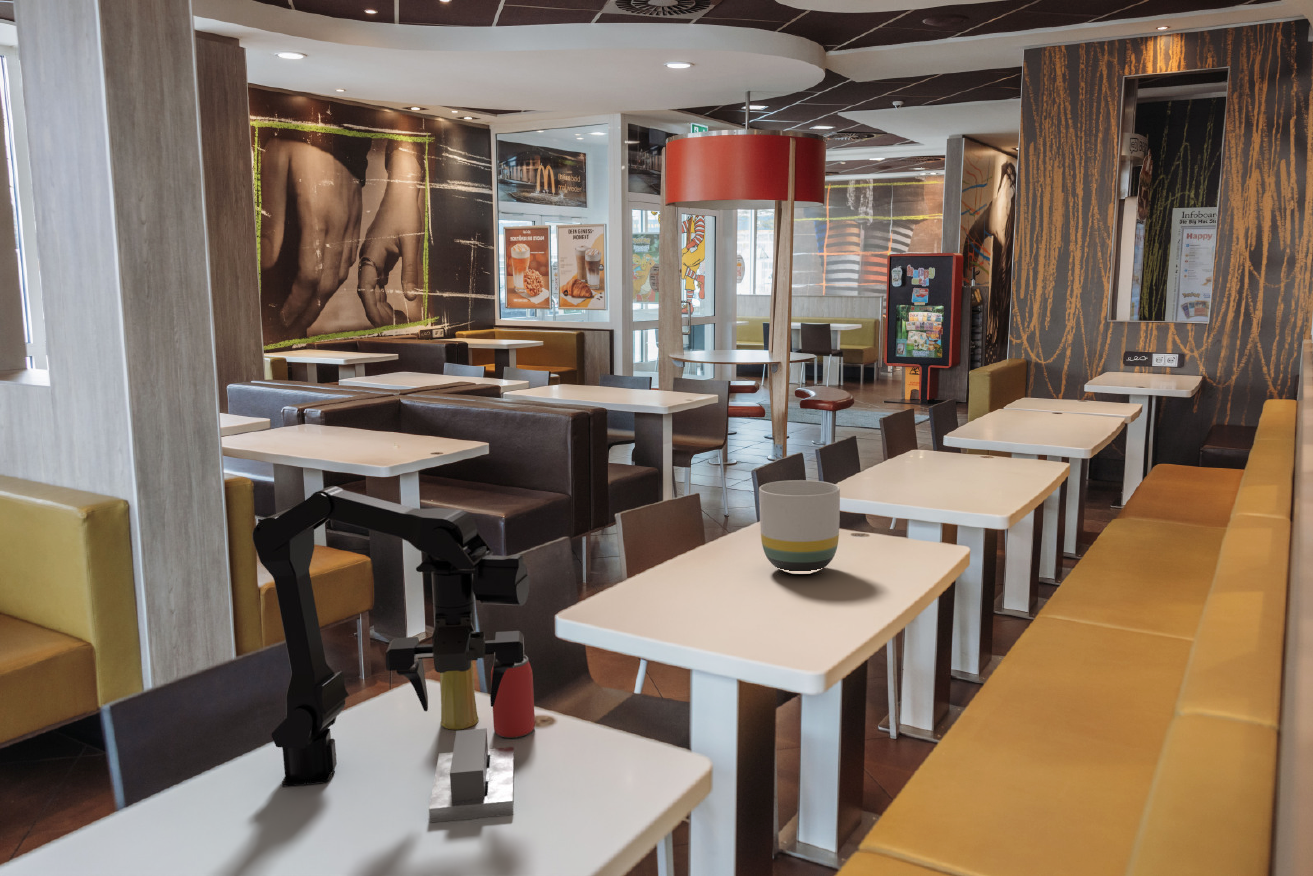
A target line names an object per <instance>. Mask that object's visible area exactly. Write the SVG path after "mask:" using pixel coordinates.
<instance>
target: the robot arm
mask: <svg viewBox="0 0 1313 876" xmlns="http://www.w3.org/2000/svg"><path fill="white" fill-rule="evenodd" d="M328 521H333V522H338V523H341V524H346V525H349V526H351V527H352V526H353V527H355V528H356V527H357V528H359V529H364V530H369V531H373V532H376V533H380V534H384V535H387V536H391V537H395V538H399V539H401V540H403V541H405V542H408V543H409V544H410V545H411V546H412V547H413V548H415V549H416V550H417V551H419V552H422V553H423V554H426V556H425V558H424V559H423V561H422V562H421V563H420V564H419V565H418V566H416V568H415V570H416V572H418V573H431V588H432V591H431V592H432V603H433V604H432V606H433V609H432V610H433V625H434V629H433V633H432V637H431V643H430V644H429V643H426V644H425V643H424V644H420V639H419V636H413V637H412V636H409V637H408V636H407V637H397V638H396V637H394V638H393V639H392V640H391V641H390V642H389V644H388V646H387V649H386V651H385V670H386V671H389V672H390V671H392V672H394V671H395V672H396V675H398V676H404V677H405V678H407V679H408V681H409V682H410V684H411V686H412V687H413V689H414V691H415V693H416V695H417V698H418V700H419V702H420V704H421V707H422V709H423V711H424V712H428V710H429V696H428V690H427V689H428V688H427V681H426V674H425V668H424V661H423V659H425V660H426V659H433V667H434V671H435V672H437V673H439V674H440V673H445V672H446V671H460V672H463V671H467V670H469V669H470V668H471V661H478V660H479V659H484V658H485V657H486V655H488V656H489V655H494V658H493V661H494V663H493V664H494V665H493V664H492V667H493V675H492V685H491V684H490V685H491V686H490V694H489V695H490V696H489V698H490V702H489V703H490V707H492V708H493V706H494V703H495V700H496V696H497V693H498V689H499V686H500V682H501V680H502V677H503V675H504V673H505V671H506V670H507V669H508V668H513V667H514V666H515V663H519V662H522V661H524V655H525V644H524V643H525V640H524V637H525V636H524V634H523V632H521V631H520V630H510V631H509V630H508V631H496V632H495V637H494V638H495V639H493V640H492V639H491V640H486V637H485V632H484V631H477V621H476V620H477V617H476V601H479V602H480V603H481V604H483V605H499V606H501V605H502V606H503V605H504V606H524V605H525V604H526V602H527V600H528V597H529V591H530V583H531V582H530V578H531V577H530V574H529V573H528V568H527V566H526V564H525V563H524V556H523V555H522V554H509V555H493V554H494V550H493V549H492V547H491V546H490V545H489V543H488V542H487V541H486V540H485V539H484V537H483V535H482V534H481V533H480V532H479V530H478V527H477V524H476V521H475V520H474V518H473V516H472V514H470V513H469V512H467V511H465V510H464V509H458V508H455V509H454V508H445V507H444V508H443V507H435V508H434V507H433V508H432V507H431V508H419V507H418V508H416V507H411V506H407V505H403V504H399V503H396V502H393V501H388V500H385V499H384V500H383V499H379V498H377V497H372V496H368V495H364V494H360V493H357V492H354V491H353V492H352V491H350V490H349V491H348V490H345V489H343V488H342V487H339V486H335V485H331V486H327V487H325V488H322V489H320V490H318V491H315V492H313V493H312V494H311V495H310V496H309V497H307V498H306V499H305V500H304V501H302V502H299V504H296V505H295V506H294V507H292V508H291V507H290V508H288V509H285V510H283V511H280V512H278V513H274V514H272V515H270V516H267V517H265V518H262V519H261V520H260V521H258V522H257V524H256V526H255V527H254V528H253V530H252V533H251V534H252V535H251V537H252V543H253V545H254V548H255V551H256V554H257V557H258V560H259V562H260V563H261V564H262V566H263V567H264V568H265V570H267V572H268V573H269V575H271V577H272V578H273V582H274V587H275V593H276V596H277V597H276V598H277V604H278V608H279V612H280V613H279V614H280V619H281V623H282V629H283V634H284V641H285V645H286V650H287V656H288V661H289V667H290V678H289V683H288V687H287V691H286V695H285V712H286V713H285V714H286V716H285V717H286V718H285V719H284V720H283V721H282V722H281V723H280V724H279V725H278V726H277V727H276V728H275V729H274V730H273V732H271V734H270V735H271V738H272V740H273V742H274V745H275V747H276V748H282V757H283V760H282V761H283V769H284V770H283V771H284V777H283V780H282V781H281V786H282V787H289V786H300V785H303V786H304V785H311V784H324V783H328V782H329V781H330V778H331V776H332V774H333V772H334V771H335V769H336V767H337V764H338V763H337V750H336V739H335V738H332V736H331V734H332V733H331V728H330V727H331V726H333V725H334V724H335V723H336V721H337V717H338V716H339V715H340V714H341V713H342V711H343V710H344V709H345V707H346V698H348V697H349V696H350V694H349V693H348V691H347V688H346V686H345V674H344V671H342V670H340V671H337V672H334V670H332V668H331V667H330V665H328V663H327V660H326V655H325V649H324V645H323V639H322V633H321V628H320V622H319V618H318V612H317V605H316V601H315V596H314V595H315V594H314V589H313V584H312V580H311V579H312V578H311V573H310V567H311V564H312V563H311V562H312V559H313V555H314V550H315V530H316V529H318V528H319V527H321V526H322V525H324V524H325V523H326V522H328ZM466 549H468V550H469V552H466V551H465V550H466Z"/></svg>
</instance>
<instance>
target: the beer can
mask: <svg viewBox="0 0 1313 876" xmlns="http://www.w3.org/2000/svg"><path fill="white" fill-rule="evenodd" d="M492 663H493V664H492V667H491V672H490V685H492V675H493V665H494V660H493V661H492ZM533 676H534V675H533V669H532V666H531V663H530V662H529V657H528V656H527V655H526V654H524V661H522V662H519V663H515V666H514V667H513V668H508V669H507V670H506V671H505V673H504V675H503V677H502V680H501V682H500V686H499V689H498V693H497V696H496V700H495V703H494V706H493V707H492V719H493V730H494V733H496V734H497V735H498V736H499V737H502V738H506V739H516V738H517V739H518V738H521V737H525V736H527V735H529V734H530V733H531V732H533V730H534V729H535V727H536V717H535V698H534V697H535V695H534V679H533Z"/></svg>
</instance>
